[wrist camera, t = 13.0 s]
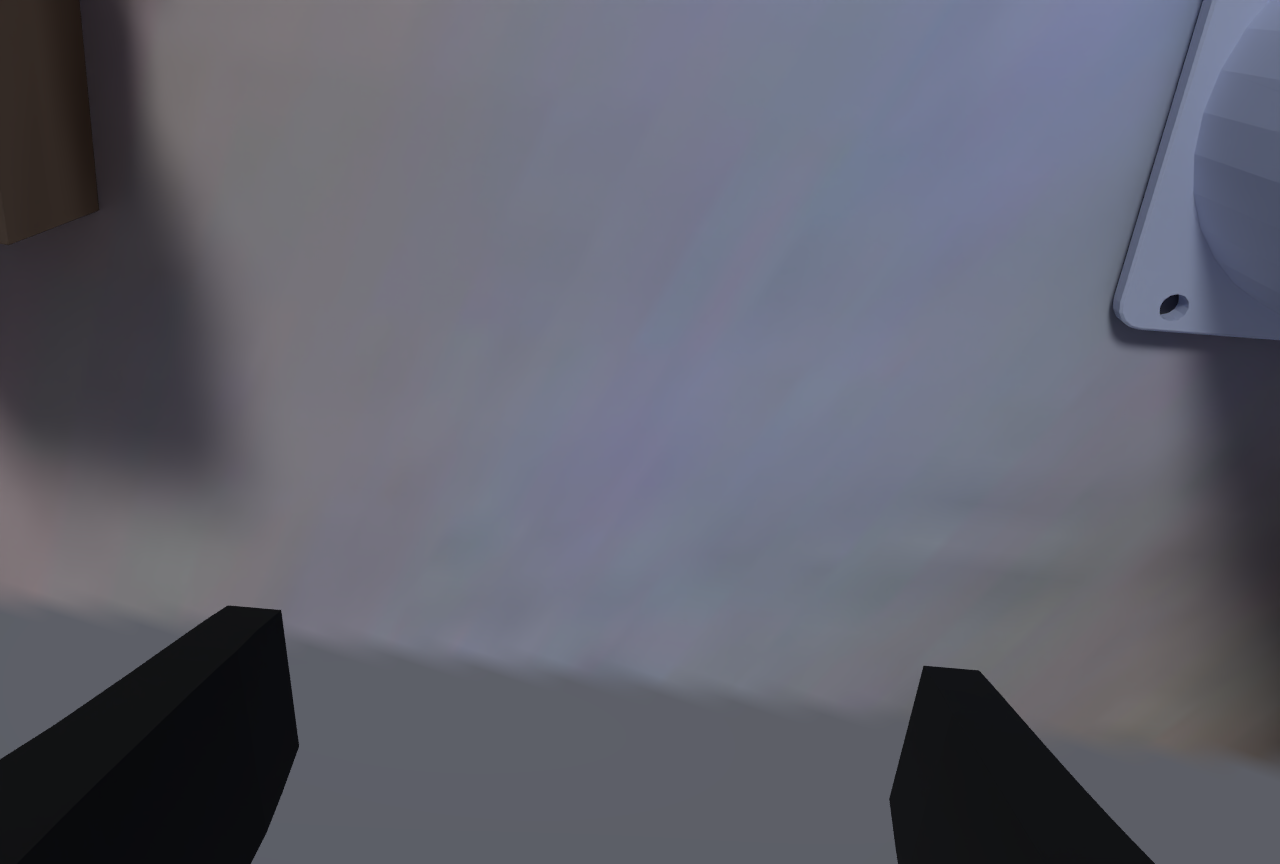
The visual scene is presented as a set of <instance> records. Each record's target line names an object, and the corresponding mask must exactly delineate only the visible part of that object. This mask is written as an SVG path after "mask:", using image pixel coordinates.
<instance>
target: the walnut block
mask: <svg viewBox="0 0 1280 864" xmlns="http://www.w3.org/2000/svg"><path fill="white" fill-rule="evenodd" d="M98 210H99V205H98V195H97V184H96V173H95V162H94V152H93V141H92V130H91V119H90V109H89V98H88V87H87V76H86V66H85V55H84V44H83V33H82V23H81V12H80V1H79V0H0V244H5V245H10V244H13V243H15V242H18V241H20V240H23V239H26V238H28V237H31V236H33V235H36V234H38V233H41V232H44V231H46V230H49V229H51V228H54V227H57V226H59V225H62V224H64V223H67V222H70V221H72V220H75V219H77V218H80V217H82V216H85V215H88V214H90V213H93V212H95V211H98Z"/></svg>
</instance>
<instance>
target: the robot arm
mask: <svg viewBox="0 0 1280 864" xmlns="http://www.w3.org/2000/svg"><path fill="white" fill-rule="evenodd" d="M1176 294H1178V295H1179V302H1178V304H1177V306H1176V307H1175V309H1173V310H1172V311H1170V312H1169V313H1166V314H1160V306H1161V304H1162V303H1163V301H1164V300H1165V299H1166V298H1168V297H1169V296H1171V295H1176ZM1113 309H1114V312H1115V315H1116V316H1117V317H1118V318H1119V319H1120V320H1121V321H1122V322H1123V323H1125V324H1126V325H1127V326H1128V327H1131V328H1134V329H1138V330H1149V331H1162V332H1175V333H1189V334H1202V335H1215V336H1228V337H1242V338H1255V339H1268V340H1280V0H1203V3H1202V6H1201V9H1200V13H1199V16H1198V19H1197V23H1196V26H1195V29H1194V33H1193V36H1192V39H1191V43H1190V46H1189V49H1188V53H1187V56H1186V59H1185V63H1184V66H1183V69H1182V73H1181V76H1180V79H1179V83H1178V86H1177V89H1176V92H1175V96H1174V99H1173V102H1172V106H1171V109H1170V112H1169V116H1168V119H1167V122H1166V126H1165V129H1164V132H1163V136H1162V139H1161V142H1160V146H1159V149H1158V152H1157V156H1156V159H1155V162H1154V166H1153V169H1152V172H1151V176H1150V179H1149V182H1148V186H1147V189H1146V192H1145V196H1144V199H1143V202H1142V206H1141V209H1140V212H1139V216H1138V219H1137V222H1136V226H1135V229H1134V232H1133V236H1132V239H1131V242H1130V246H1129V249H1128V252H1127V256H1126V259H1125V262H1124V265H1123V269H1122V272H1121V275H1120V279H1119V282H1118V285H1117V289H1116V292H1115V295H1114V300H1113ZM298 748H299V742H298V735H297V728H296V719H295V712H294V705H293V697H292V689H291V681H290V674H289V666H288V659H287V651H286V643H285V636H284V628H283V621H282V613H281V610H274V609H262V608H251V607H239V606H226V607H225V608H223V609H222V610H220V611H219V612H217V613H216V614H214V615H212V616H211V617H209V618H208V619H206V620H205V621H203V622H202V623H201V624H199V625H198V626H196V627H195V628H193V629H192V630H190V631H189V632H188V633H186V634H185V635H183V636H182V637H180V638H179V639H178V640H176V641H175V642H173V643H172V644H170V645H169V646H168V647H166V648H165V649H163V650H162V651H161V652H159V653H158V654H156V655H155V656H153V657H152V658H151V659H149V660H148V661H146V662H145V663H143V664H142V665H141V666H139V667H138V668H136V669H135V670H134V671H132V672H131V673H129V674H128V675H126V676H125V677H124V678H122V679H121V680H119V681H118V682H116V683H115V684H114V685H112V686H110V687H109V688H108V689H106V690H105V691H103V692H102V693H101V694H99V695H97V696H96V697H94V698H93V699H92V700H90V701H89V702H87V703H86V704H84V705H83V706H81V707H80V708H78V709H77V710H76V711H74V712H73V713H71V714H70V715H68V716H67V717H65V718H64V719H62V720H61V721H60V722H58V723H57V724H55V725H53V726H52V727H51V728H49V729H47V730H46V731H44V732H43V733H41V734H39V735H38V736H36V737H35V738H33V739H32V740H30V741H28V742H27V743H25V744H24V745H22V746H21V747H19V748H17V749H16V750H14V751H13V752H11V753H10V754H8V755H6V756H5V757H3V758H2V759H1V760H0V864H251V862H252V860H253V858H254V856H255V854H256V852H257V850H258V848H259V846H260V844H261V842H262V840H263V838H264V837H265V835H266V832H267V830H268V827H269V825H270V822H271V820H272V817H273V815H274V812H275V810H276V807H277V805H278V802H279V799H280V796H281V794H282V792H283V789H284V786H285V784H286V781H287V778H288V775H289V773H290V770H291V767H292V764H293V761H294V759H295V756H296V753H297V751H298ZM889 800H890V807H891V816H892V822H893V831H894V839H895V846H896V853H897V860H898V864H1155V863H1154V862H1153V861H1152V860H1151V859H1150V858H1149V857H1148V856H1147V855H1146V854H1145V853H1144V852H1143V851H1142V850H1141V849H1140V848H1139V847H1138V846H1137V845H1136V844H1135V843H1134V842H1133V841H1132V840H1131V839H1130V838H1129V837H1128V835H1127V834H1125V832H1124V831H1123V830H1122V829H1121V828H1120V827H1119V826H1118V825H1117V824H1116V823H1115V822H1114V821H1113V820H1112V819H1111V818H1110V817H1109V816H1108V814H1107V813H1106V812H1105V811H1104V810H1103V809H1102V808H1101V807H1100V806H1099V805H1098V804H1097V802H1096V801H1095V800H1094V799H1093V798H1092V797H1091V796H1090V795H1089V794H1088V793H1087V792H1086V791H1085V790H1084V788H1083V787H1082V786H1081V785H1080V784H1079V783H1078V782H1077V781H1076V780H1075V778H1074V777H1073V776H1072V775H1071V774H1070V773H1069V772H1068V771H1067V770H1066V768H1065V767H1064V766H1063V765H1062V764H1061V763H1060V762H1059V761H1058V759H1057V758H1056V757H1055V756H1054V755H1053V754H1052V753H1051V752H1050V750H1049V749H1048V748H1047V747H1046V746H1045V745H1044V744H1043V742H1042V741H1041V740H1040V739H1039V738H1038V737H1037V736H1036V735H1035V733H1034V732H1033V731H1032V730H1031V729H1030V728H1029V727H1028V725H1027V724H1026V723H1025V722H1024V721H1023V720H1022V719H1021V717H1020V716H1019V715H1018V714H1017V713H1016V712H1015V710H1014V709H1013V708H1012V707H1011V706H1010V705H1009V704H1008V702H1007V701H1006V700H1005V699H1004V698H1003V697H1002V696H1001V694H1000V693H999V692H998V691H997V690H996V689H995V688H994V687H993V685H992V684H991V683H990V682H989V681H988V680H987V679H986V678H985V677H984V675H983V674H982V673H981V672H980V671H978V670H967V669H955V668H944V667H932V666H923V670H922V674H921V678H920V682H919V686H918V690H917V694H916V698H915V701H914V705H913V709H912V713H911V717H910V721H909V725H908V729H907V732H906V736H905V740H904V744H903V748H902V752H901V756H900V760H899V764H898V768H897V771H896V775H895V779H894V783H893V787H892V791H891V795H890V799H889Z"/></svg>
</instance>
